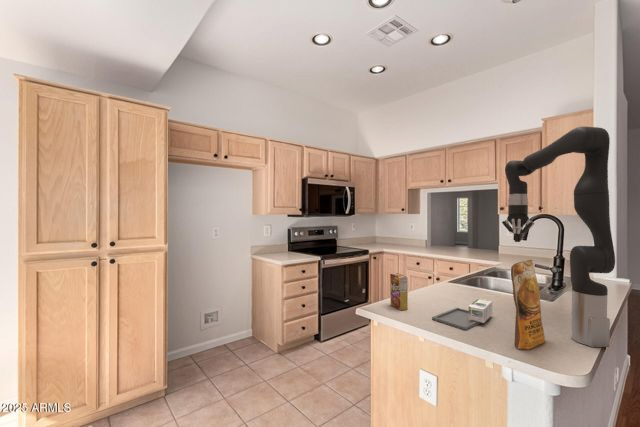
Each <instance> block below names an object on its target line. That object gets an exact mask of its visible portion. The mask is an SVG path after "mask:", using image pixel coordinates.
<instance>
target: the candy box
mask: <svg viewBox="0 0 640 427" xmlns="http://www.w3.org/2000/svg"><path fill="white" fill-rule="evenodd" d="M389 275H390V276H389V277H390V279H389V281H390V285H389V286H390V290H389V291H390V292H389V293H390V306H393V307H395V308H396V309H397V310H399V311H408V301H409V299H408V294H409V293H408V292H409V291H408V288H409V287H408V286H409V284H408V281H409V280H408V276H406V275H404V274H401V273H398V272H391V273H390V274H389Z"/></svg>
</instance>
